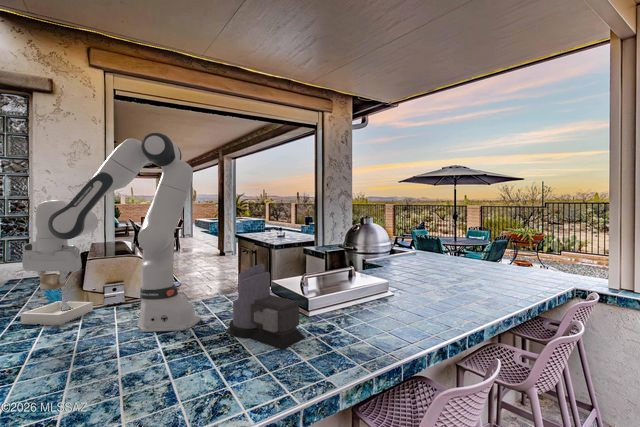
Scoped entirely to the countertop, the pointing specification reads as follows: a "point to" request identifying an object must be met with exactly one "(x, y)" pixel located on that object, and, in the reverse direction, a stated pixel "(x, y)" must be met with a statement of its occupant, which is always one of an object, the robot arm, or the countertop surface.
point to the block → (50, 281)
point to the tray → (55, 313)
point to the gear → (53, 295)
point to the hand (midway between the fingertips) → (53, 283)
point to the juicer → (263, 312)
